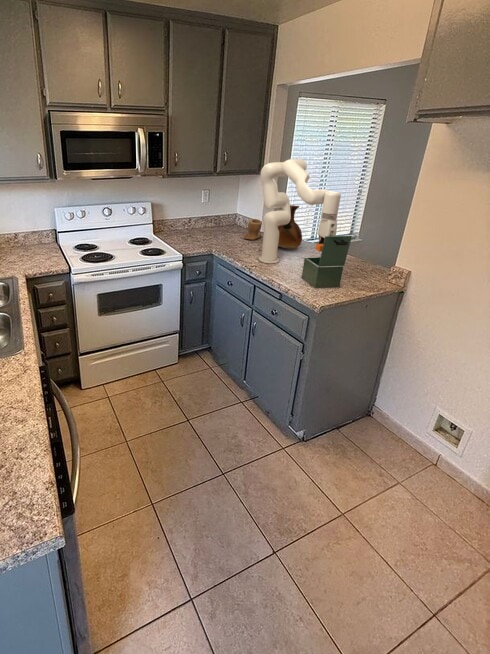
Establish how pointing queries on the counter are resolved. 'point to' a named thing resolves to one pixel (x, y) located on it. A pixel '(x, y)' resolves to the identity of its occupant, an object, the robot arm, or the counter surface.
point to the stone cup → (253, 229)
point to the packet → (319, 247)
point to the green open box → (321, 273)
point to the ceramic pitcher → (290, 232)
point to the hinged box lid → (334, 251)
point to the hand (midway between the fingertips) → (323, 249)
